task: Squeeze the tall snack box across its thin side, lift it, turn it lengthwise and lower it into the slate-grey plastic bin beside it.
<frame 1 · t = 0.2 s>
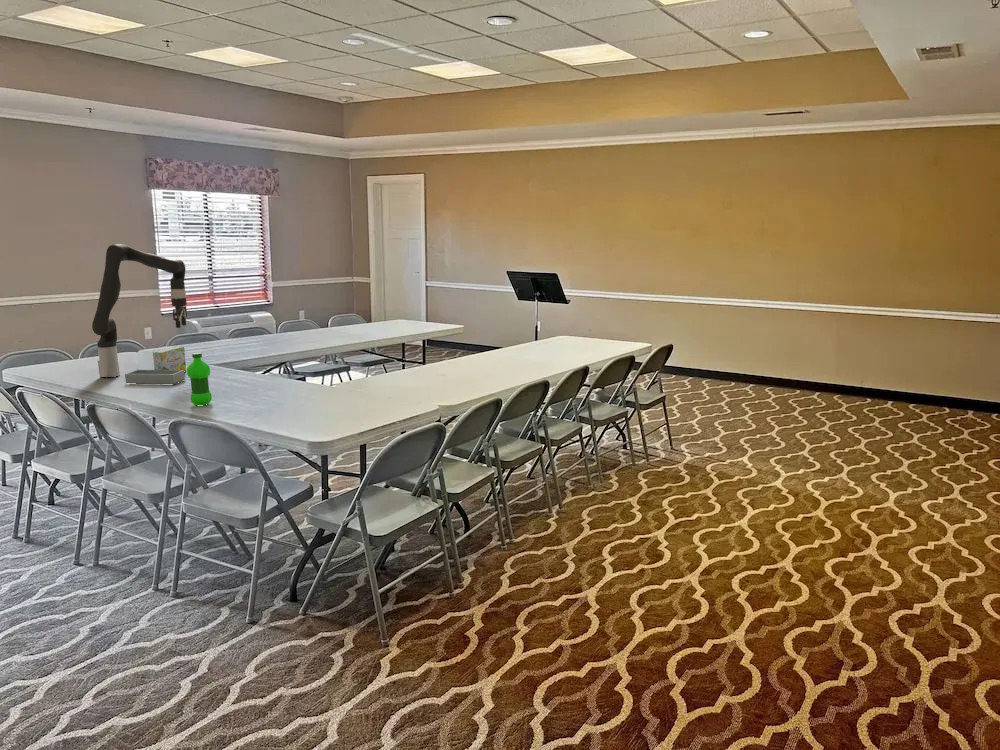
hand: (181, 326, 405), 28 cm above the table, tool pointing down, fingers open, 8 cm apart
snack box: (171, 375, 417), on the table
plastic bottle: (201, 405, 351), on the table
bin: (155, 382, 399), on the table
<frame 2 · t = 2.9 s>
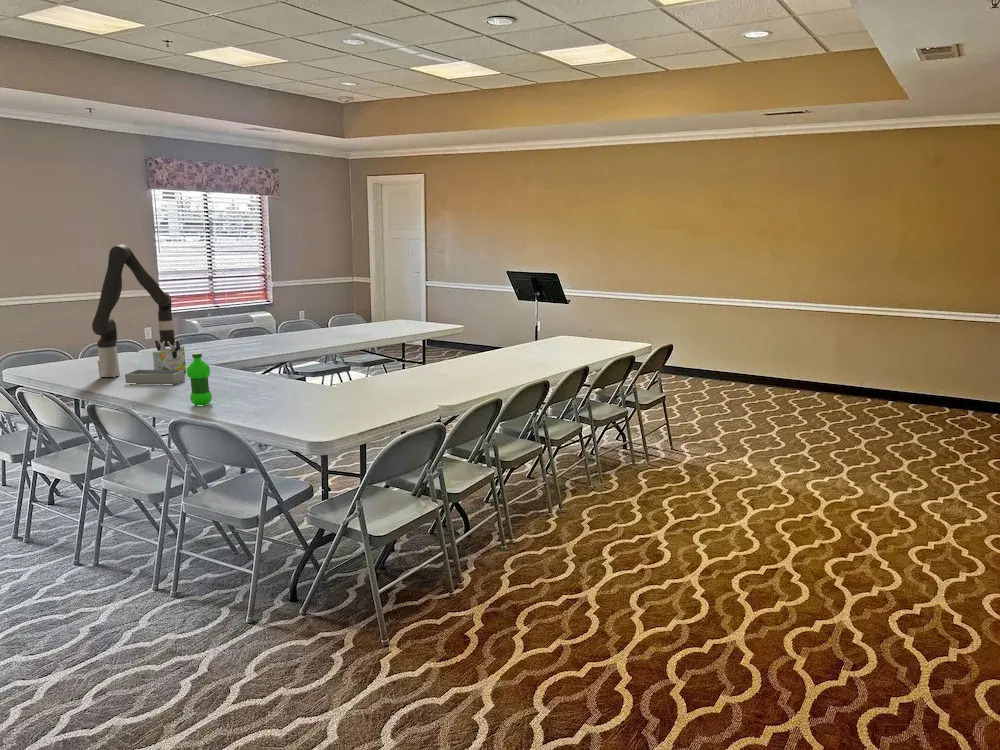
hand: (169, 358, 415), 10 cm above the table, tool pointing down, fingers closed on snack box, 6 cm apart
snack box: (171, 375, 417), on the table, touching gripper
everything else where it was.
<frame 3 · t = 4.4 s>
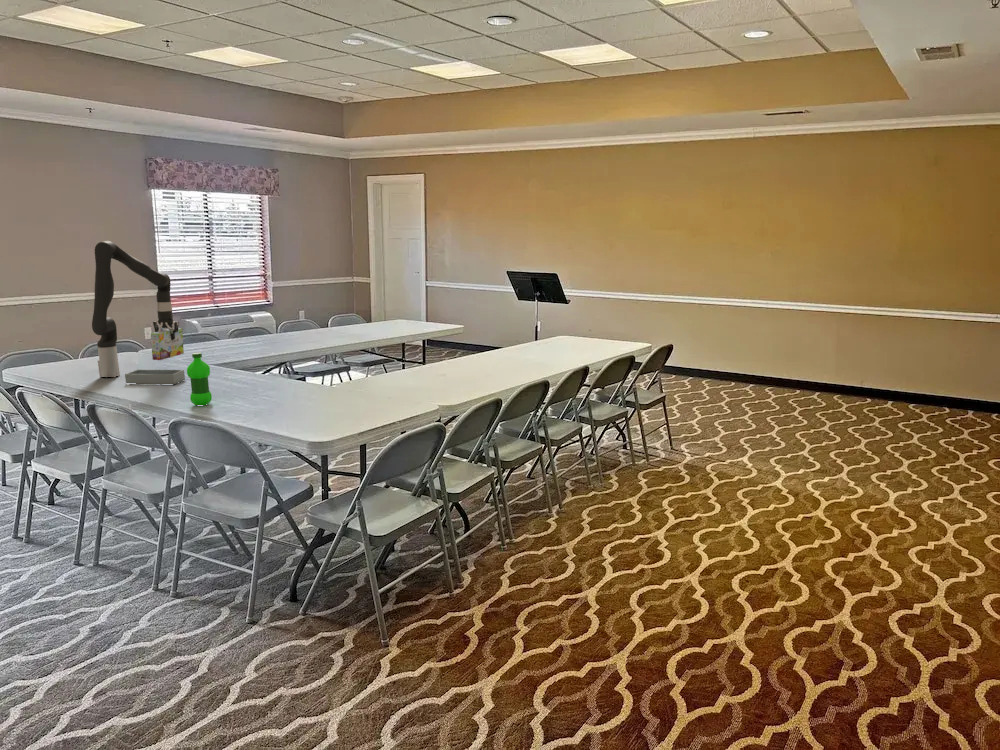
hand: (167, 339, 413), 20 cm above the table, tool pointing down, fingers closed on snack box, 6 cm apart
snack box: (168, 357, 415), point 10 cm above the table, touching gripper
everything else where it was.
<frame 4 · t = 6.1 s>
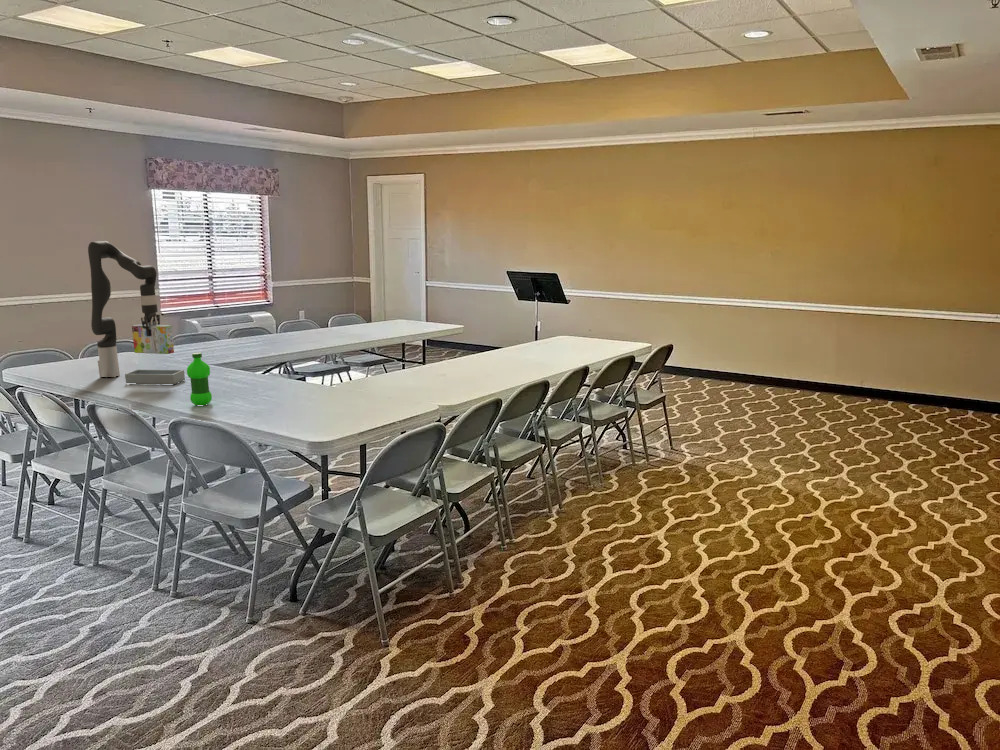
hand: (152, 335, 395), 26 cm above the table, tool pointing down, fingers closed on snack box, 6 cm apart
snack box: (154, 353, 397), point 16 cm above the table, touching gripper
everything else where it was.
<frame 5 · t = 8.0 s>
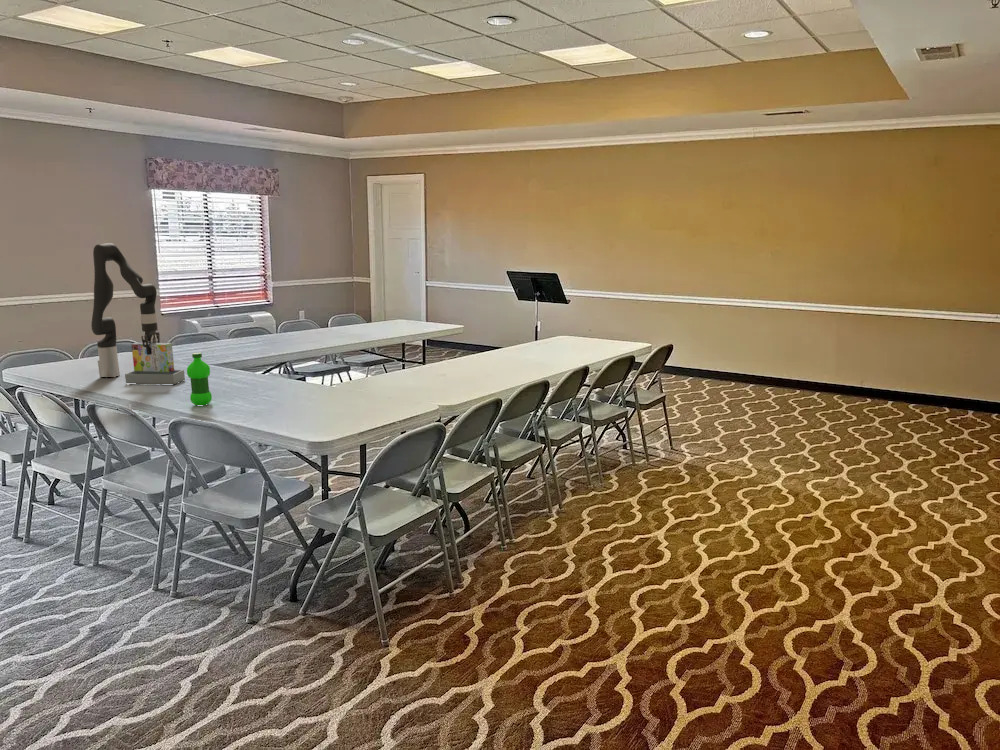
hand: (152, 353, 395), 16 cm above the table, tool pointing down, fingers closed on snack box, 6 cm apart
snack box: (154, 371, 397), point 6 cm above the table, touching gripper
everything else where it was.
when the fingers open (12 cm above the table, at t = 9.4 s): snack box drops 1 cm, resting on bin.
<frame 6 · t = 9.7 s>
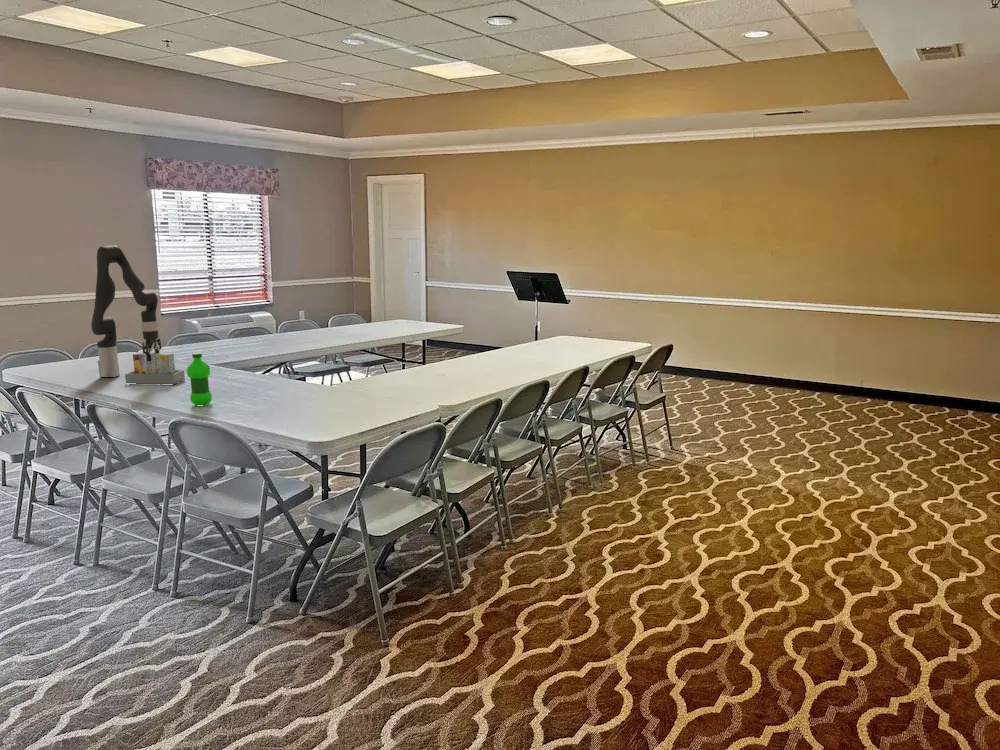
hand: (153, 359, 396), 13 cm above the table, tool pointing down, fingers open, 8 cm apart
snack box: (156, 381, 399), point 1 cm above the table, touching bin
everything else where it was.
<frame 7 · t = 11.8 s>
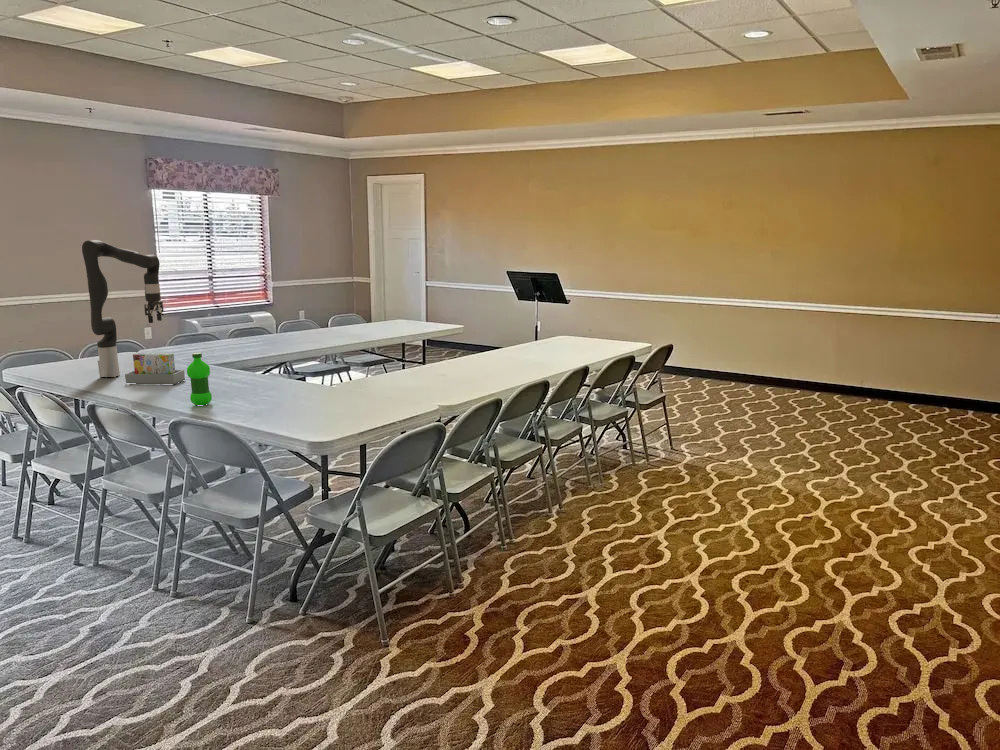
hand: (155, 321, 404), 31 cm above the table, tool pointing down, fingers open, 8 cm apart
nothing on the table moved.
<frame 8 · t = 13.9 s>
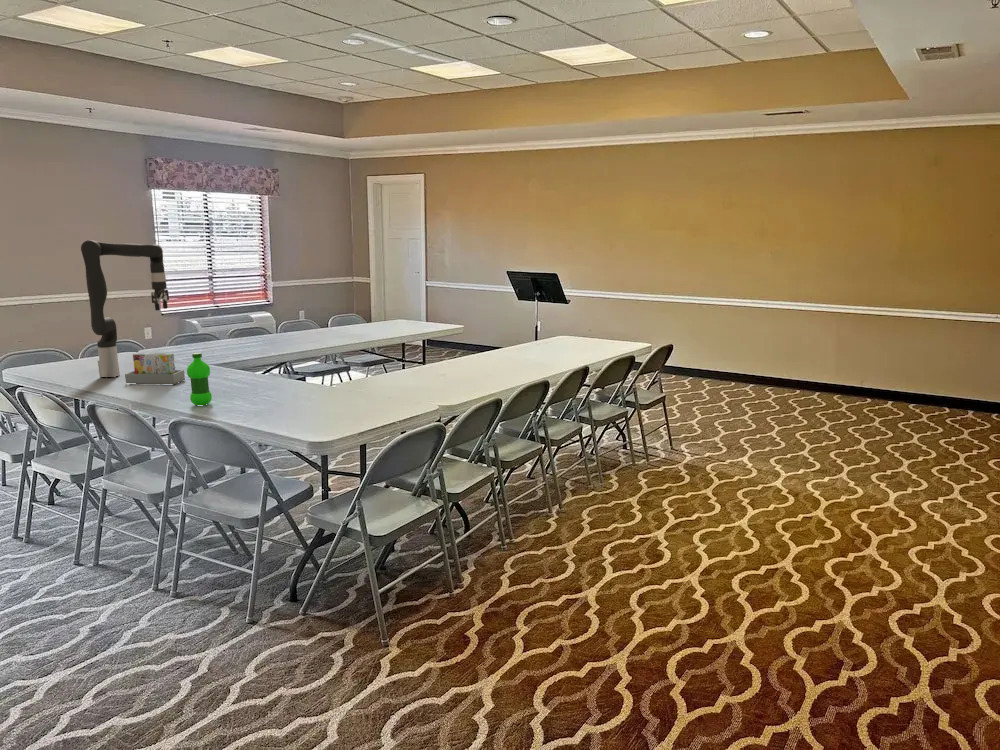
hand: (161, 309, 418), 36 cm above the table, tool pointing down, fingers open, 8 cm apart
nothing on the table moved.
at the end: snack box inside the target area on the bin (0.4 cm from its centre), point 0.6 cm above the bin's base; snack box tilted 0°; the gripper is holding nothing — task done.
